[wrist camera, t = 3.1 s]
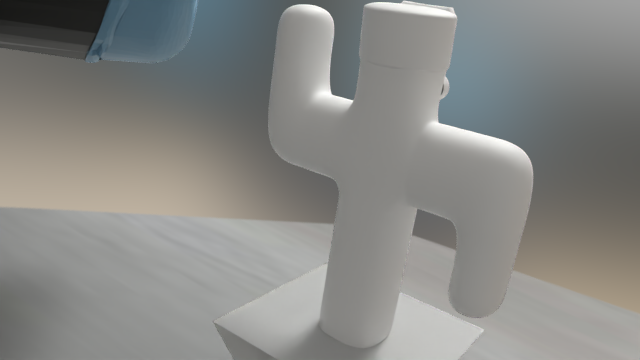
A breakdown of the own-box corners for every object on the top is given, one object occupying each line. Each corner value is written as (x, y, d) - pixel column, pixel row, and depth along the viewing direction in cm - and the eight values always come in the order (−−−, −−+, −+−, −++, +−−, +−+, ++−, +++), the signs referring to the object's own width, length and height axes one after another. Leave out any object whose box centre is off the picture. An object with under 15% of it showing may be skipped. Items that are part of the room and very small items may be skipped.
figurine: (405, 550, 17) (539, 19, 12) (183, 393, 21) (218, -28, 17) (490, 422, 22) (602, 30, 18) (300, 321, 27) (349, -7, 23)
